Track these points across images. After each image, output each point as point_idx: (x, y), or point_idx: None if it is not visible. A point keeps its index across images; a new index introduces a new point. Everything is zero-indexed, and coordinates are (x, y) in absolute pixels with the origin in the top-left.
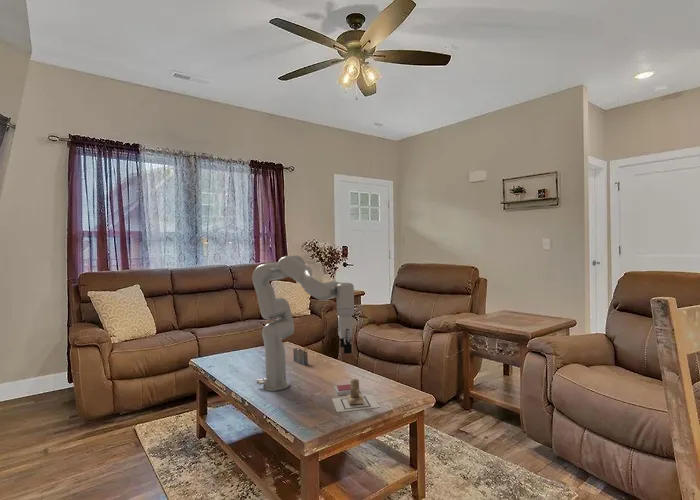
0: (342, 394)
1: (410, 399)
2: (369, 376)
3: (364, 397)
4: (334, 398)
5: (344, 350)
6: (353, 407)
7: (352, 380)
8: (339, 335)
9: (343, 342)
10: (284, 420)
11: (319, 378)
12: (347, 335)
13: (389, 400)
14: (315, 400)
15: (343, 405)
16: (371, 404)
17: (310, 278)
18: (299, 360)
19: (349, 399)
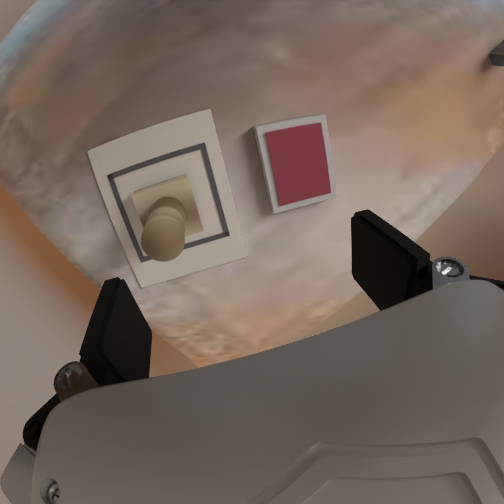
0: (257, 146)
1: (210, 354)
2: None
3: (217, 234)
4: (212, 118)
5: (99, 302)
6: (126, 204)
7: (160, 231)
8: (259, 379)
9: (378, 266)
10: (47, 5)
11: (414, 70)
12: (7, 496)
13: (200, 309)
14: (203, 46)
15: (139, 165)
16: (157, 262)
17: None
18: (502, 47)
19: (138, 194)
